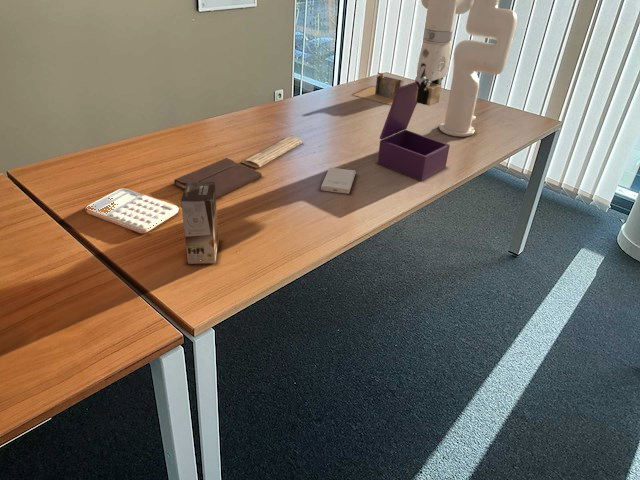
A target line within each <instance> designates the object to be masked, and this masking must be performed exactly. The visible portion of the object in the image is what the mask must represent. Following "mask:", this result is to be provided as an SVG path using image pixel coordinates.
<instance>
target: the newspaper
mask: <svg viewBox="0 0 640 480" xmlns="http://www.w3.org/2000/svg"><path fill="white" fill-rule="evenodd" d="M301 144H303V141H302V140H301V139H300V138H297V137H295V136H287V137H286V138H283V139H281V140H280V141H278V142H276V143H274V144H272V145H271V146H269V147H267V148H265V149H263V150H261V151H259V152H258V153H256V154H254V155H252V156H250V157H248V158H246V159H244V160H243V161H241V163H240V164H245V165H247V166H250V167H252V168H255V169H259V168H260V167H263V166H264V165H266V164H267V163H270V162H271V161H273V160H275V159H276V158H278V157H280V156H282V155H284V154H285V153H287V152H289V151H290V150H292V149H294V148H296V147H298V146H299V145H301Z"/></svg>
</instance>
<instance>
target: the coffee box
mask: <svg viewBox="0 0 640 480" xmlns="http://www.w3.org/2000/svg"><path fill="white" fill-rule="evenodd" d="M181 195H182V196H181V199H180V203H181V213H182V221H183V230H184V231H183V232H184V240H185V248H186V249H185V250H186V258H187V259H186V260H187V264H189V265H191V264H197V265H198V264H216V261H217V256H218V255H217V254H218V248H219V242H220V239H219V237H220V236H219V223H218V210H217V199H216V194H215V182H187V184H186V187H185V190H184V189H183V193H182V194H181ZM188 260H189V261H188ZM190 260H191V261H190ZM200 260H201V261H200Z"/></svg>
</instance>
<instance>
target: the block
mask: <svg viewBox="0 0 640 480" xmlns="http://www.w3.org/2000/svg"><path fill="white" fill-rule="evenodd" d="M424 83H425V84H426V82H424ZM428 91H429V93H428V100H427V104H426V105H425V106H428V107H431V106H434V105H436V104H438V103H440V97H441V92H442V84H441V85H438V84H434V83H431V81H430V84H429V87H428ZM417 95H418V86H417V92H416V99H415V102H417Z"/></svg>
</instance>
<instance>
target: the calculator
mask: <svg viewBox="0 0 640 480" xmlns="http://www.w3.org/2000/svg"><path fill="white" fill-rule="evenodd" d="M108 198H110V199H111V198H113V199H111V200H110V199H108ZM113 202H114V204H116V205H114V204H113V205H114V207H115V208H114V207H112V206H113V205H111V203H113ZM93 204H94V205H93ZM117 204H118V205H117ZM108 205H110V206H111V207H112V209H114V210H111V209H110V210H111V211H110V210H108V209H107V210H108V211H110V212H108V213H107V212H106V213H107V214H106V213H104V212H101V211H100V212H101V213H100V212H99V211H98V209H99V210H100V209H102V208H104V207H106V206H108ZM88 206H90V207H91V206H93V207H91V208H94V209H96V210H94V209H93V210H91V209H88V208H87V207H88ZM95 206H96V207H95ZM108 207H109V206H108ZM111 207H109V208H111ZM86 208H87V209H88V210H90V211H93V212H95V213H98V214H101V215H103V216H106V217H108V218H110V219H113V220H116V221H119V222H121V223H123V224H125V225H123V224H120V223H118V222H115V221H112V220H110V219H107V218H104V217H101V216H99V215H96V214H93V213H91V212H88V211H86V210H85V212H86V213H87V214H88V215H90V216H92V217H96V218H98V219H101V220H104V221H106V222H109V223H112V224H114V225H117V226H120V227H122V228H125V229H128V230H131V231H132V232H136V233H138V234H146V233H148V232H150V231H151V230H153V229H154V228H156V227H157V226H159V225H161V224H163V223H164V222H165V221H167V220H169V219H170V218H172V217H173V216H175V215H176V214H178V212H179V207H178V206H177V205H175V204H173V203H169V202H166V201H164V200H161V199H157V198H155V197H152V196H149V195H147V194H143V193H141V192H137V191H134V190H131V189H128V188H119V189H116V190H114V191H113V192H111V193H109V194H106V195H105V196H103V197H102V198H100V199H97V200H96V201H93V202H92V203H90V204H88V205H87V206H86V207H85V209H86ZM104 210H105V209H104ZM96 211H97V212H96ZM161 220H162V221H161ZM156 223H157V224H156ZM126 225H128V226H130V227H128V226H126ZM153 225H154V226H153ZM131 227H133V228H131ZM150 227H151V228H150ZM134 228H136V229H134ZM148 228H149V229H148ZM137 229H138V230H137ZM139 230H145V231H139Z"/></svg>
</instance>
